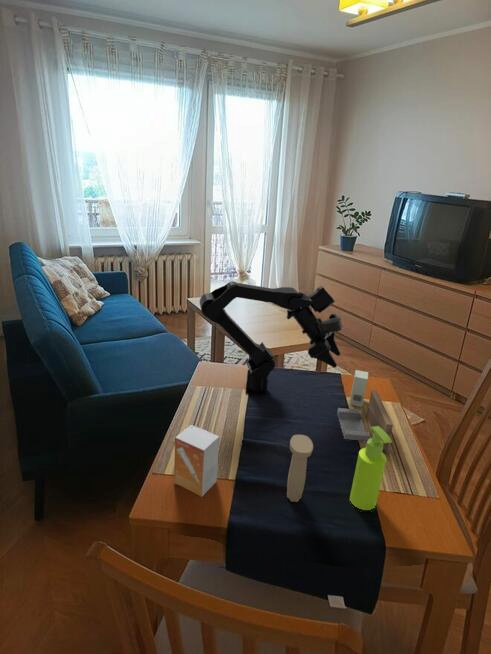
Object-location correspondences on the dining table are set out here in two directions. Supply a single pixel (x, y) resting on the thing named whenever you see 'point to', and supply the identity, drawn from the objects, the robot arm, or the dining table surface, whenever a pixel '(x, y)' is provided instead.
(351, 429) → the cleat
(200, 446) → the small box
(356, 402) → the sage green block
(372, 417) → the wall board
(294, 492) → the handle
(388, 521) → the dining table surface
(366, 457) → the soap dispenser
